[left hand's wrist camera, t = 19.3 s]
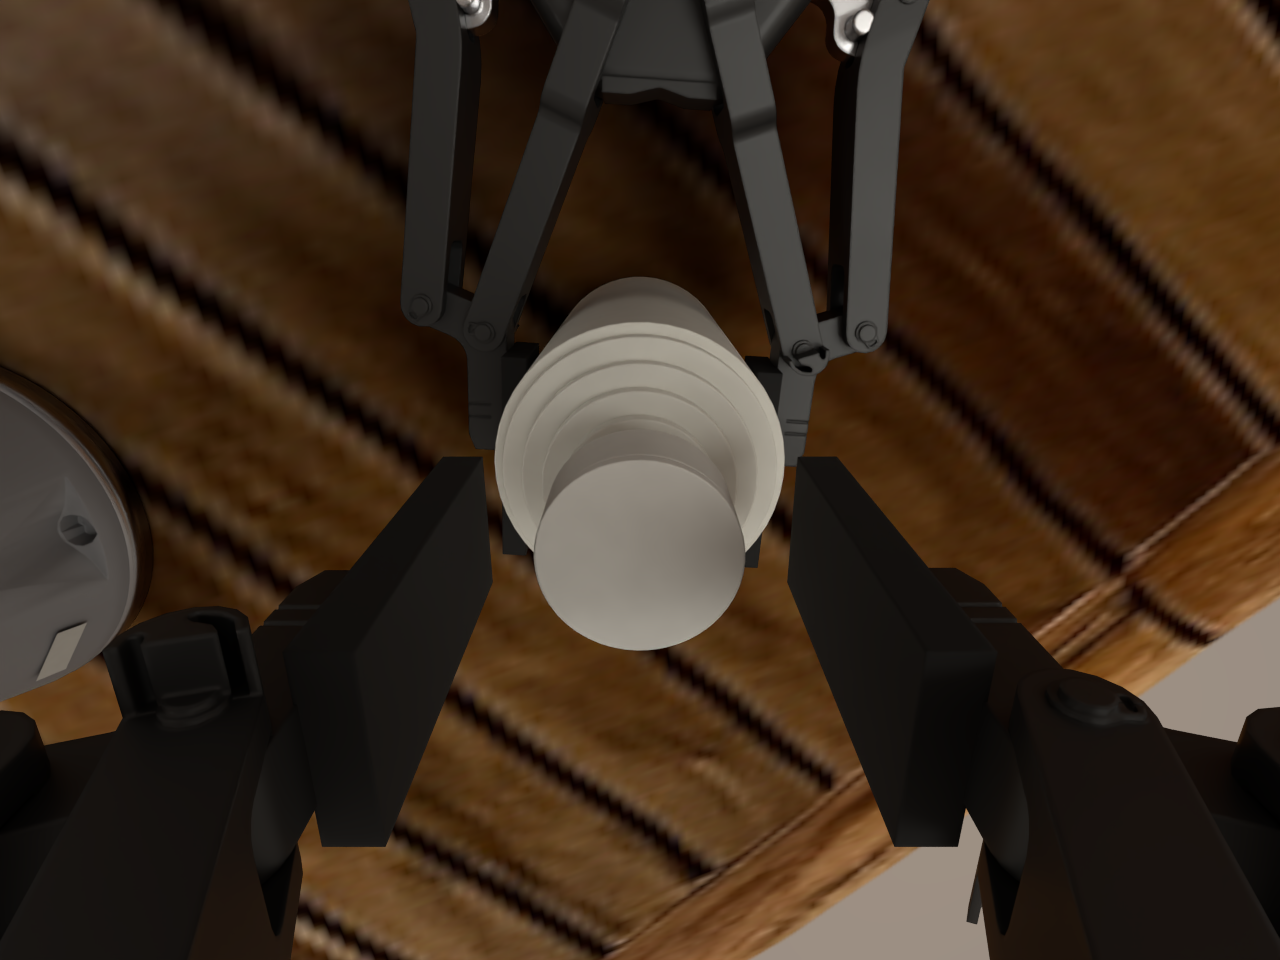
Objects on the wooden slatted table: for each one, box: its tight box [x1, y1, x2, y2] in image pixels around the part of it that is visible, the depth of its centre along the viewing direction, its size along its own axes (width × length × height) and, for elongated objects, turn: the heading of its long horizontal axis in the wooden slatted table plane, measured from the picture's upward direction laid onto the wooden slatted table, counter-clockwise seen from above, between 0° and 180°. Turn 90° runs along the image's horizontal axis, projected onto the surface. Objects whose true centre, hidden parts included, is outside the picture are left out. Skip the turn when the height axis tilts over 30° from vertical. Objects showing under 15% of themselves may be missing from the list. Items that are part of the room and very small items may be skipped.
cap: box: [534, 429, 745, 650], centre depth 13 cm, size 4×4×2 cm
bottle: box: [495, 277, 785, 552], centre depth 21 cm, size 7×7×17 cm
